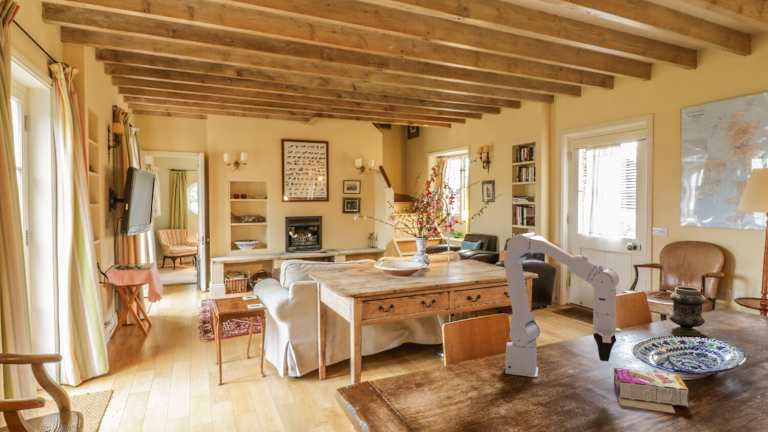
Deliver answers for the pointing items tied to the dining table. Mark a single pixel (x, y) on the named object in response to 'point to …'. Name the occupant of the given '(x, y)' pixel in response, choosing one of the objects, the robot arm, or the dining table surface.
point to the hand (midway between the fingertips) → (604, 360)
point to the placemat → (646, 405)
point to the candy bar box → (651, 387)
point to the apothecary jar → (687, 310)
